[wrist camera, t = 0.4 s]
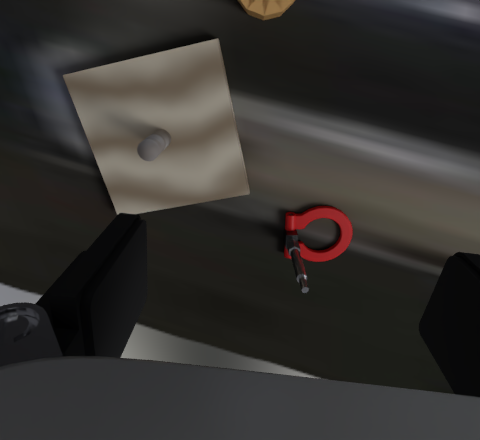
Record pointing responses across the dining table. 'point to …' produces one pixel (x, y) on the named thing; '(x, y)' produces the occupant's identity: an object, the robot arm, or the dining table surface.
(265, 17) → the collar
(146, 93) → the post base
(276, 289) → the dining table surface
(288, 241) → the tow hook
